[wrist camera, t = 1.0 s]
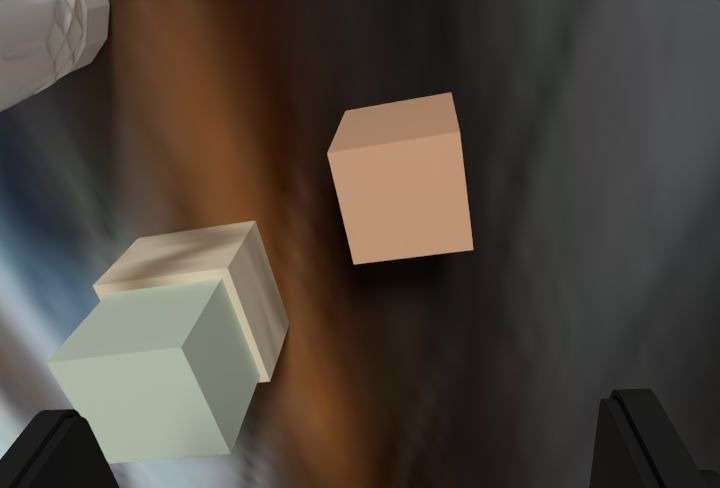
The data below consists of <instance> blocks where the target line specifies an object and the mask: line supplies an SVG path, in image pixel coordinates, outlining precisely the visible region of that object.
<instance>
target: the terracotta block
mask: <svg viewBox="0 0 720 488" xmlns="http://www.w3.org/2000/svg"><path fill="white" fill-rule="evenodd" d="M327 154H328V158H329V162H330V166H331V171H332V175H333V179H334V183H335V188H336V192H337V196H338V200H339V204H340V209H341V213H342V217H343V221H344V225H345V230H346V234H347V238H348V242H349V247H350V251H351V255H352V259H353V263H354V264H363V263H371V262H379V261H387V260H395V259H403V258H411V257H419V256H427V255H435V254H443V253H451V252H460V251H468V250H473V242H472V233H471V224H470V216H469V207H468V198H467V190H466V181H465V172H464V164H463V155H462V146H461V138H460V130H459V126H458V121H457V117H456V112H455V108H454V103H453V98H452V94H451V93H445V94H439V95H434V96H428V97H422V98H416V99H411V100H405V101H399V102H394V103H388V104H382V105H377V106H371V107H365V108H360V109H354V110H348V111H345V114H344V116H343V118H342V120H341V123H340V125H339V127H338V130H337V132H336V134H335V137H334V139H333V141H332V144H331V146H330V148H329V151H328V153H327Z"/></svg>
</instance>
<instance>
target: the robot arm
mask: <svg viewBox="0 0 720 488" xmlns="http://www.w3.org/2000/svg"><path fill="white" fill-rule="evenodd" d="M0 488H119V486H118V484H117V481H116V479H115V477H114V475H113V473H112V471H111V469H110V467H109V465H108V462H107V460H106V458H105V456H104V454H103V452H102V450H101V448H100V446H99V443H98V441H97V439H96V437H95V435H94V433H93V431H92V429H91V427H90V424H89V422H88V421H87V419H86V418H84V417H81V415H80V414H79V412H78V411H76V410H74V409H66V410H43V411H41V412H39V413H38V414H37V415H36V416H35V417H34V418H33V419H32V420H31V422H30V423H29V424H28V425H27V427H26V428H25V429H24V430H23V432H22V433H21V434H20V436H19V437H18V438H17V439H16V441H15V442H14V443H13V444H12V446H11V447H10V448H9V449H8V451H7V452H6V453H5V454H4V456H3V457H2V458H1V459H0ZM589 488H720V475H718V474H717V473H716V472H715V471H711V470H698V468H697V467H696V465H695V463H694V461H693V460H692V458H691V456H690V454H689V453H688V451H687V449H686V447H685V446H684V444H683V442H682V441H681V439H680V437H679V435H678V434H677V432H676V430H675V428H674V427H673V425H672V423H671V421H670V420H669V418H668V416H667V414H666V413H665V411H664V409H663V408H662V406H661V404H660V402H659V401H658V399H657V397H656V395H655V394H654V393H653V391H652V390H650V389H626V390H613V391H612V392H611V396H610V399H602V400H601V401H600V406H599V414H598V422H597V430H596V438H595V446H594V454H593V462H592V470H591V478H590V487H589Z"/></svg>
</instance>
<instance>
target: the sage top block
mask: <svg viewBox="0 0 720 488" xmlns="http://www.w3.org/2000/svg"><path fill="white" fill-rule="evenodd" d="M46 364H47V365H48V367H49V369H50V370H51V372H52V373H53V375H54V377H55V378H56V380H57V381H58V383H59V385H60V386H61V388H62V389H63V391H64V393H65V394H66V396H67V397H68V399H69V401H70V402H71V404H72V405H73V407H74V409H75V410H76V411H78V412H79V414H80V415H81V417H84V418H86V419H87V421H88V422H89V424H90V427H91V429H92V431H93V433H94V435H95V437H96V439H97V441H98V443H99V446H100V448H101V450H102V452H103V454H104V456H105V458H106V460H107V462H108V463H122V462H135V461H148V460H162V459H175V458H188V457H201V456H215V455H228V454H231V453H232V450H233V447H234V445H235V442H236V439H237V436H238V434H239V431H240V428H241V425H242V423H243V420H244V417H245V415H246V412H247V409H248V406H249V404H250V401H251V398H252V396H253V393H254V390H255V387H256V385H257V382H258V379H259V376H260V373H259V371H258V368H257V365H256V363H255V360H254V358H253V355H252V353H251V350H250V348H249V345H248V343H247V340H246V337H245V335H244V332H243V330H242V327H241V325H240V322H239V320H238V317H237V314H236V312H235V309H234V307H233V304H232V302H231V299H230V297H229V294H228V291H227V289H226V286H225V284H224V281H223V279H222V278H216V279H208V280H201V281H194V282H187V283H180V284H173V285H166V286H158V287H151V288H144V289H137V290H130V291H123V292H116V293H108V294H107V295H106V296H105V297H104V298H103V299H102V301H101V302H100V303H99V304H98V305H97V306H96V307H95V308H94V310H93V311H92V312H91V313H90V314H89V315H88V316H87V317H86V319H85V320H84V321H83V322H82V323H81V324H80V325H79V326H78V328H77V329H76V330H75V331H74V332H73V333H72V334H71V335H70V337H69V338H68V339H67V340H66V341H65V342H64V343H63V344H62V346H61V347H60V348H59V349H58V350H57V351H56V352H55V353H54V355H53V356H52V357H51V358H50V359H49V360H48V361H47V362H46Z"/></svg>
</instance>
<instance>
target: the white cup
mask: <svg viewBox="0 0 720 488" xmlns="http://www.w3.org/2000/svg"><path fill="white" fill-rule="evenodd" d="M109 10H110V3H109V0H0V112H1V111H3V110H6V109H8V108H10V107H12V106H14V105H16V104H17V103H19V102H21V101H22V100H24V99H26V98H29V97H31V96H33V95H35V94H37V93H38V92H40V91H42V90H44V89H45V88H47V87H50V86H52V85H53V84H54V83H55V82H56V81H57V80H58V79H60V78H61V77H63V76H65V75H67V74H68V73H70V72H73V71H75V70H77V69H79V68H81V67H84V66H86V65H88V64H90V63H92V61H93V60H94V58H95V57H96V55H97V53H98V52H99V50H100V49H101V47H102V46H103V44H104V43H105V41H106V40H107V37H108V23H109Z"/></svg>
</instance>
